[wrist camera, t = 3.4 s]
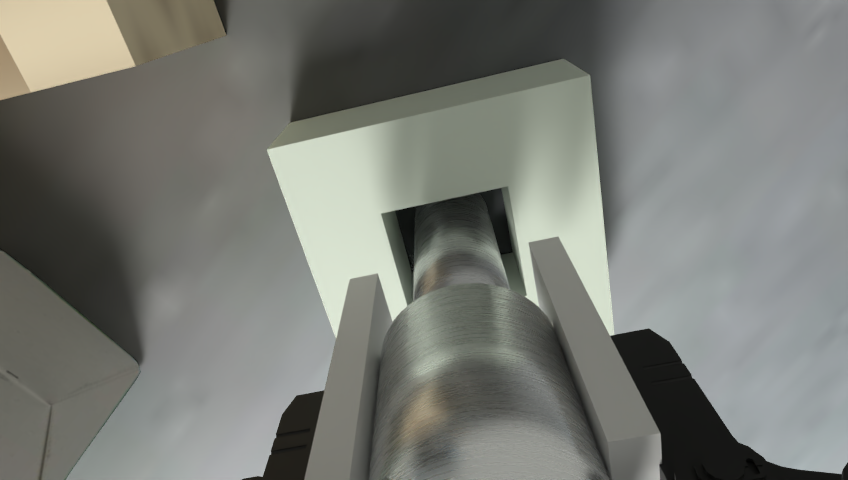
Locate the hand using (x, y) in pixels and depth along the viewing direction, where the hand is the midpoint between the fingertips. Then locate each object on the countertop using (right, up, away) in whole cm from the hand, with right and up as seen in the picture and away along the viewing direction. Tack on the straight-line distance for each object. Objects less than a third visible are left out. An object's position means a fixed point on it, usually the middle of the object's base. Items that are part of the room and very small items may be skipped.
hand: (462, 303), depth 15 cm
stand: (0, +2, +5) cm, 6 cm away
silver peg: (0, +3, +5) cm, 6 cm away
